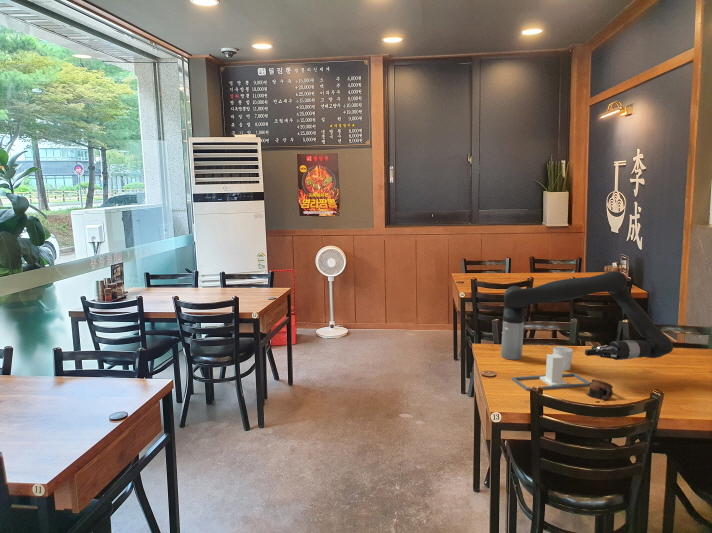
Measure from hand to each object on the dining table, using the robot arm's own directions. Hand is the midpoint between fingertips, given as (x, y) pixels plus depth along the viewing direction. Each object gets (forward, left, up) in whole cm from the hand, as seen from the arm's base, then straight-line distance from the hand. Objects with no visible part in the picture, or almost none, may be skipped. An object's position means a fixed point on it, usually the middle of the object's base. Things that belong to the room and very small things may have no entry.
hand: (586, 352), depth 213 cm
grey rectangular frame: (0, -15, -13) cm, 20 cm away
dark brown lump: (+16, -4, -13) cm, 21 cm away
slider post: (0, -14, -11) cm, 18 cm away
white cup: (-15, -1, -13) cm, 20 cm away
